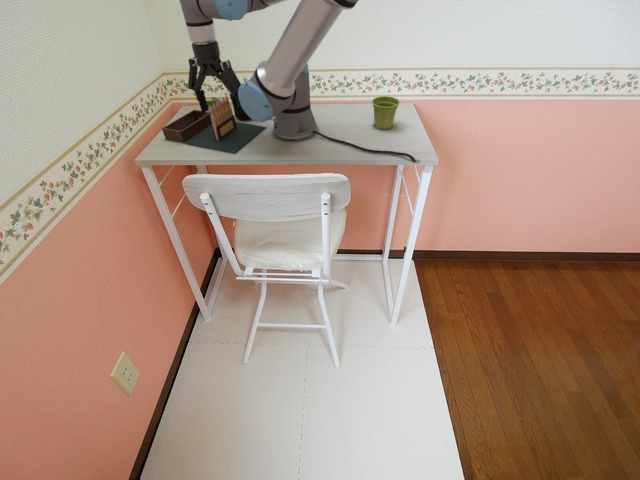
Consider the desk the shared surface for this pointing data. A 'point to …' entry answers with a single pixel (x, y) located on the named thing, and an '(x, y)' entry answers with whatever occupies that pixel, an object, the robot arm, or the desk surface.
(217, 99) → the geometric puzzle
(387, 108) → the plant pot
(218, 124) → the ammunition clip
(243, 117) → the coffee mug
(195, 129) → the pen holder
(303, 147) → the desk surface
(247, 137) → the desk mat
